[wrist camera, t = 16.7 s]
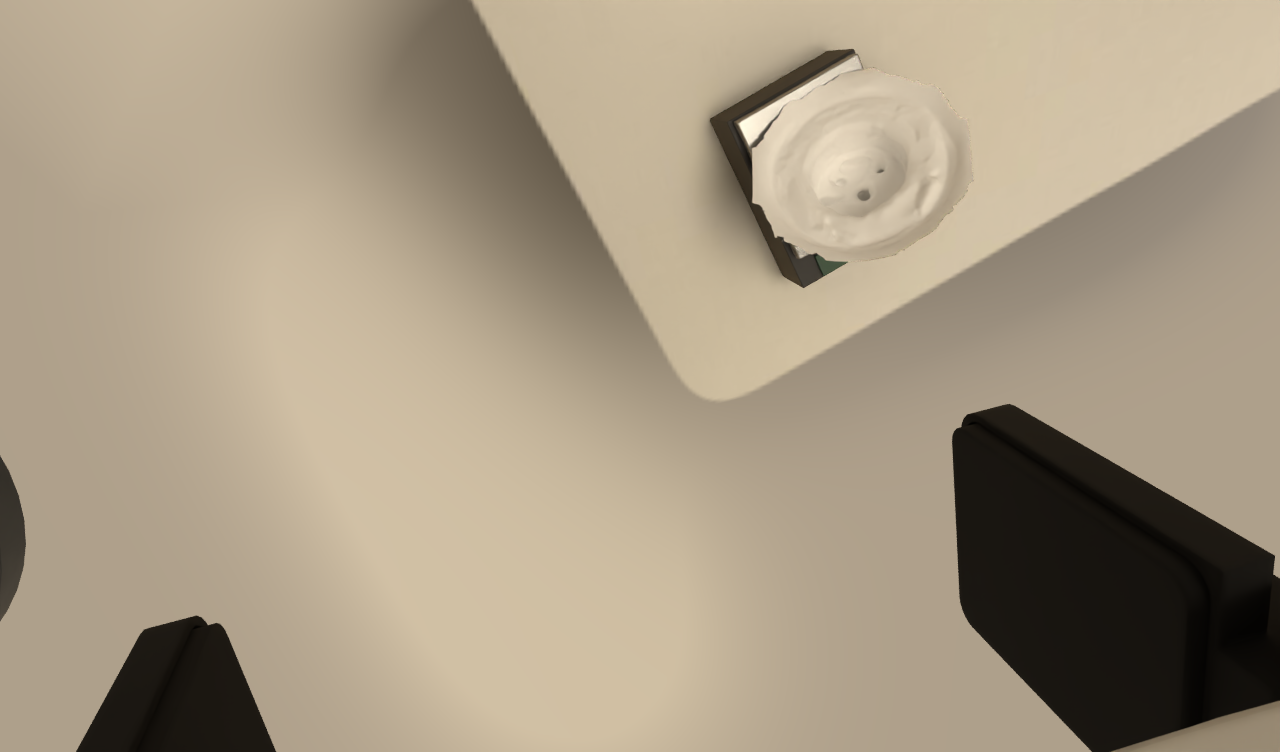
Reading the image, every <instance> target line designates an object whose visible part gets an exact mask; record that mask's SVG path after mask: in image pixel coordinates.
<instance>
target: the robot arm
mask: <svg viewBox="0 0 1280 752" xmlns="http://www.w3.org/2000/svg"><path fill="white" fill-rule="evenodd" d="M952 447H953V469H954V488H955V508H956V509H955V510H956V529H957V551H958V570H959V571H958V573H959V594H960V603H961V606H962V610H963V612H964V614H965V617H966V618H967V620H968V622H969V623H970V625H971V626H972V627H973V628H974V629H975V630H976V631H977V632H978V633H979V634H980V635H981V637H982V638H983V639H984V640H985V641H986V642H987V643H988V644H989V645H990V646H991V647H992V648H993V649H994V650H995V651H996V652H997V653H998V654H999V655H1000V656H1001V657H1002V658H1003V660H1004V661H1005V662H1006V663H1007V664H1008V665H1009V666H1010V667H1011V668H1012V669H1013V670H1014V671H1015V672H1016V673H1017V674H1018V675H1019V676H1020V677H1021V678H1022V679H1023V680H1024V681H1025V682H1026V683H1027V684H1028V686H1029V687H1030V688H1031V689H1032V690H1033V691H1034V692H1035V693H1036V694H1037V695H1038V696H1039V697H1040V698H1041V699H1042V700H1043V701H1044V702H1045V703H1046V704H1047V705H1048V706H1049V707H1050V708H1051V709H1052V711H1053V712H1054V713H1055V714H1056V715H1057V716H1058V717H1059V718H1060V719H1061V720H1062V721H1063V722H1064V723H1065V724H1066V725H1067V726H1068V727H1069V728H1070V729H1071V730H1072V731H1073V732H1074V733H1075V734H1076V736H1077V737H1078V738H1079V739H1080V740H1081V741H1082V742H1083V743H1084V744H1085V745H1086V746H1087V747H1088V748H1089V749H1090V750H1091V751H1092V752H1280V578H1278V577H1276V576H1275V575H1273V570H1274V561H1275V556H1274V555H1273V554H1271V553H1269V552H1267V551H1265V550H1264V549H1262V548H1261V547H1259V546H1257V545H1255V544H1253V543H1252V542H1250V541H1248V540H1247V539H1245V538H1243V537H1241V536H1240V535H1238V534H1236V533H1234V532H1232V531H1231V530H1229V529H1227V528H1226V527H1224V526H1222V525H1221V524H1219V523H1217V522H1215V521H1214V520H1212V519H1210V518H1208V517H1206V516H1205V515H1203V514H1201V513H1200V512H1198V511H1196V510H1194V509H1193V508H1191V507H1189V506H1188V505H1186V504H1184V503H1182V502H1181V501H1179V500H1177V499H1175V498H1174V497H1172V496H1170V495H1169V494H1167V493H1165V492H1163V491H1161V490H1160V489H1158V488H1156V487H1155V486H1153V485H1151V484H1149V483H1148V482H1146V481H1144V480H1143V479H1141V478H1139V477H1137V476H1136V475H1134V474H1132V473H1130V472H1128V471H1127V470H1125V469H1123V468H1122V467H1120V466H1118V465H1116V464H1115V463H1113V462H1111V461H1110V460H1108V459H1106V458H1104V457H1103V456H1101V455H1099V454H1097V453H1096V452H1094V451H1092V450H1090V449H1089V448H1087V447H1085V446H1083V445H1082V444H1080V443H1078V442H1077V441H1075V440H1073V439H1071V438H1070V437H1068V436H1066V435H1064V434H1063V433H1061V432H1059V431H1057V430H1056V429H1054V428H1052V427H1050V426H1049V425H1047V424H1045V423H1044V422H1042V421H1040V420H1038V419H1037V418H1035V417H1033V416H1031V415H1030V414H1028V413H1026V412H1024V411H1023V410H1021V409H1019V408H1017V407H1016V406H1013V405H1011V404H1007V405H1002V406H998V407H994V408H990V409H987V410H983V411H979V412H976V413H971V414H968V415H966V417H965V418H964V419H963V422H962V427H961V428H957V429H956V430H955V431H954V433H953V437H952ZM76 752H276V751H275V748H274V746H273V744H272V741H271V739H270V736H269V734H268V732H267V729H266V727H265V724H264V722H263V719H262V717H261V715H260V712H259V710H258V707H257V705H256V703H255V700H254V698H253V695H252V693H251V691H250V688H249V686H248V683H247V681H246V679H245V676H244V674H243V671H242V669H241V667H240V664H239V662H238V659H237V657H236V655H235V652H234V650H233V648H232V645H231V643H230V640H229V638H228V636H227V634H226V631H225V630H224V628H223V627H222V626H221V625H220V624H218V623H215V624H211V625H207V623H206V622H205V621H204V620H203V619H202V618H201V617H199V616H193V617H190V618H186V619H182V620H178V621H174V622H170V623H167V624H163V625H159V626H155V627H151V628H148V629H145V630H144V631H143V632H142V633H141V634H140V636H139V637H138V639H137V641H136V643H135V645H134V647H133V648H132V650H131V652H130V654H129V656H128V658H127V660H126V661H125V663H124V665H123V667H122V669H121V670H120V672H119V674H118V676H117V678H116V680H115V682H114V683H113V685H112V687H111V689H110V691H109V692H108V694H107V696H106V698H105V700H104V702H103V703H102V705H101V707H100V709H99V711H98V713H97V714H96V716H95V719H94V720H93V722H92V724H91V725H90V727H89V729H88V731H87V733H86V735H85V737H84V738H83V740H82V742H81V744H80V746H79V747H78V749H77V751H76Z"/></svg>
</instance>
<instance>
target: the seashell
mask: <svg viewBox="0 0 1280 752" xmlns="http://www.w3.org/2000/svg"><path fill="white" fill-rule="evenodd" d="M943 94H944V93H943V92H940V88H937V87H936V86H935V85H932V84H924V85H922V84H920V82H919V81H918V80H917V81H911V80H909V79H907V78H903V77H900V76H899V75H895V76H894V75H887V74H886V73H885V72H883V71H878V70H877V69H876V68H869V69H864V70H859V71H854V72H848V73H840V74H839V76H838V77H836V78H835V79H834V80H831V81H830V82H828V83H827V84H826V85H820V86H819V87H817V88H815V89H813V91H812V92H810V93H808V94H807V95H806V96H804V98H802V99H798V100H797V101H795V100H792V101H790V102H789V103H788V104H787V105H785V106H784V107H783V109H782V111H781V112H780V113H781V114H780V115H779V116H778V118H777V119H776V120H775V121H773V122H772V125H771V127H770V128H769V130H768V131H767V132H766V133H765V135H764V139H763V140H762V141H761V142H760V143H759V144H758V145H757V147H754V148H752V176H753V198H752V203H754V204H759V205H760V206H761V207H762V208H763V210H764V214H765V215H766V218H767V220H768V222H770V224H771V226H772V230H773V232H774V236H775V237H776V238H777V236H780V237H784V241H785V242H787V243H791V244H792V245H795V246H798V248H802V249H803V250H804V251H805V252H807V253H808V254H815V253H817V254H818V255H820V256H821V257H823V258H824V259H825V260H826V261H839V262H855V261H867V260H874V259H879V258H884V257H889V256H893V255H896V254H897V253H898V252H899V251H901V250H905V249H906V248H908V247H909V246H911V245H912V244H914V243H915V242H917V241H918V240H920V239H921V238H923V237H925V236H926V235H928V234H930V233H931V232H933V231H934V230H935V229H936V228H937V227H938V225H939V224H940V222H941V221H942V220H943V218H944V217H945V216H946V215H947V214H949V213H950V212H952V211H953V206H954V205H957V203H958V202H959V201H960V200H961V199H962V198H963V197H964V196H965V194H966V192H967V191H968V190H967V188H968V185H969V184H970V183H971V182H973V181H974V179H973V168H972V157H971V146H970V135H969V124H968V119H967V118H961V117H960V116H959V115H958V114H957V113H956V112H955V110H954V109H953V108H952V107H951V106H950V105H949V100H947V99H945V97H944V95H943Z"/></svg>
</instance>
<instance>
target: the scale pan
mask: <svg viewBox="0 0 1280 752" xmlns="http://www.w3.org/2000/svg"><path fill="white" fill-rule="evenodd" d="M859 70H864V69H863V66H862V64H861V61H860V58H859V56H858V54H850V55H848V56H847V57H845V58H843V59H841V60H840V61H838V62H836V63H834V64H833V65H831V66H829V67H828V68H826V69H824V70H822V71H821V72H819V73H817V74H815V75H814V76H812V77H810V78H809V79H807V80H805V81H803V82H802V83H800V84H798V85H796V86H795V87H793V88H791V89H790V90H788V91H786V92H784V93H783V94H781V95H779V96H777V97H776V98H774V99H772V100H771V101H769V102H767V103H765V104H764V105H762V106H760V107H758V108H757V109H755V110H753V111H751V112H750V113H748V114H746V115H745V116H743V117H741V118H739V119H738V120H736V121H734V125H735V128H736V130H737V132H738V134H739V136H740V138H741V141H742V143H743V145H744V147H745V149H746V151H747V154H748V156H749V158H750V160H751V162H752V148H754V147H757V145H758V144H759V143H760V142H761V141H762V140H763V139H764V135H765V133H766V132H767V131H768V130H769V128H770V127H771V125H772V122H773V121H775V120H776V119H777V118H778V116H779V115H780V114H781V113H780V112H781V111H782V109H783V107H784V106H785V105H787V104H788V103H789V102H790V101H792V100H795V101H797V100H798V99H802V98H804V96H806V95H807V94H808V93H810V92H812V91H813V89H815V88H817V87H819V86H820V85H826V84H827V83H828V82H830V81H831V80H834V79H835V78H836V77H838V76H839V74H840V73H848V72H854V71H859ZM789 245H790V247H791V250H792V252H793V254H794V256H795V257H796V258H798V259H802V258H804V257H805V256H807V255H809V254H808V253H807V252H805V251H804V250H803V249H802V248H798V246H795V245H792V244H791V243H789Z"/></svg>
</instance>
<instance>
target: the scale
mask: <svg viewBox="0 0 1280 752" xmlns="http://www.w3.org/2000/svg"><path fill="white" fill-rule="evenodd" d="M850 54H855V51H854V49H848V50H833V51H827V52H825V53H824V54H822V55H820V56H818V57H817V58H815V59H813V60H812V61H810V62H808V63H806V64H805V65H803V66H801V67H799V68H798V69H796V70H794V71H793V72H791V73H789V74H787V75H786V76H784V77H782V78H780V79H779V80H777V81H775V82H773V83H772V84H770V85H768V86H767V87H765V88H763V89H761V90H760V91H758V92H756V93H754V94H753V95H751V96H749V97H748V98H746V99H744V100H742V101H741V102H739V103H737V104H735V105H734V106H732V107H730V108H729V109H727V110H725V111H723V112H722V113H720V114H718V115H716V116H715V117H713V118H711V119H710V121H711V124H712V126H713V128H714V130H715V132H716V134H717V136H718V139H719V141H720V143H721V145H722V147H723V149H724V151H725V153H726V156H727V158H728V160H729V162H730V164H731V166H732V168H733V171H734V173H735V175H736V177H737V179H738V181H739V183H740V185H741V188H742V190H743V192H744V194H745V196H746V198H747V200H748V202H749V205H750V207H751V209H752V211H753V213H754V215H755V217H756V220H757V222H758V224H759V226H760V228H761V230H762V232H763V234H764V237H765V239H766V241H767V243H768V245H769V247H770V249H771V252H772V254H773V256H774V258H775V260H776V262H777V264H778V266H779V269H780V271H781V273H782V275H783V276H784V277H785V278H787V279H789V280H791V281H792V282H794V283H796V284H797V285H799V286H801V287H802V288H805V287H806V286H808V285H810V284H811V283H813V282H815V281H817V280H818V279H820V278H822V277H823V276H825V275H827V274H829V273H830V272H832V271H834V270H835V269H837V268H839V267H841V266H842V265H844V264H846V263H847V262H839V261H826V260H825V259H824V258H823V257H821V256H820V255H818V254H817V253H815V254H809V255H807V256H805V257H804V258H802V259H798V258H796V257H795V256H794V254H793V252H792V250H791V247H790V245H789V243H787V242H785V241H784V237H780V236H777V238H776V237H775V236H774V232H773V230H772V226H771V224H770V222H768V220H767V218H766V215H765V214H764V210H763V208H762V207H761V206H760V205H759V204H754V203H752V198H753V176H752V162H751V160H750V158H749V156H748V154H747V151H746V149H745V147H744V145H743V143H742V141H741V138H740V136H739V134H738V132H737V130H736V128H735V125H734V121H736V120H738V119H739V118H741V117H743V116H745V115H746V114H748V113H750V112H751V111H753V110H755V109H757V108H758V107H760V106H762V105H764V104H765V103H767V102H769V101H771V100H772V99H774V98H776V97H777V96H779V95H781V94H783V93H784V92H786V91H788V90H790V89H791V88H793V87H795V86H796V85H798V84H800V83H802V82H803V81H805V80H807V79H809V78H810V77H812V76H814V75H815V74H817V73H819V72H821V71H822V70H824V69H826V68H828V67H829V66H831V65H833V64H834V63H836V62H838V61H840V60H841V59H843V58H845V57H847V56H848V55H850Z"/></svg>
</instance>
